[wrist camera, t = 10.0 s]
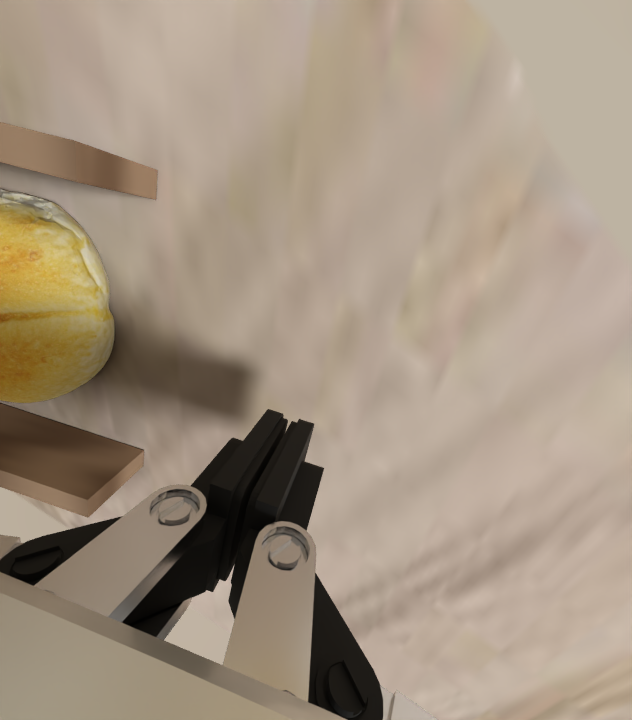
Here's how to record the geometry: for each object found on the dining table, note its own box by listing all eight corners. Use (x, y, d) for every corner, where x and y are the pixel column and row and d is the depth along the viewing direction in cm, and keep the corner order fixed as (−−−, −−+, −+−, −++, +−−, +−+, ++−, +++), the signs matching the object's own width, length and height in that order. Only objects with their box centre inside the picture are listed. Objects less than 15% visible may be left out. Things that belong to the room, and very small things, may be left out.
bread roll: (-13, 367, 17) (-122, 401, 13) (-52, 177, 14) (-211, 151, 10) (130, 404, 16) (56, 452, 12) (123, 212, 13) (20, 198, 9)
